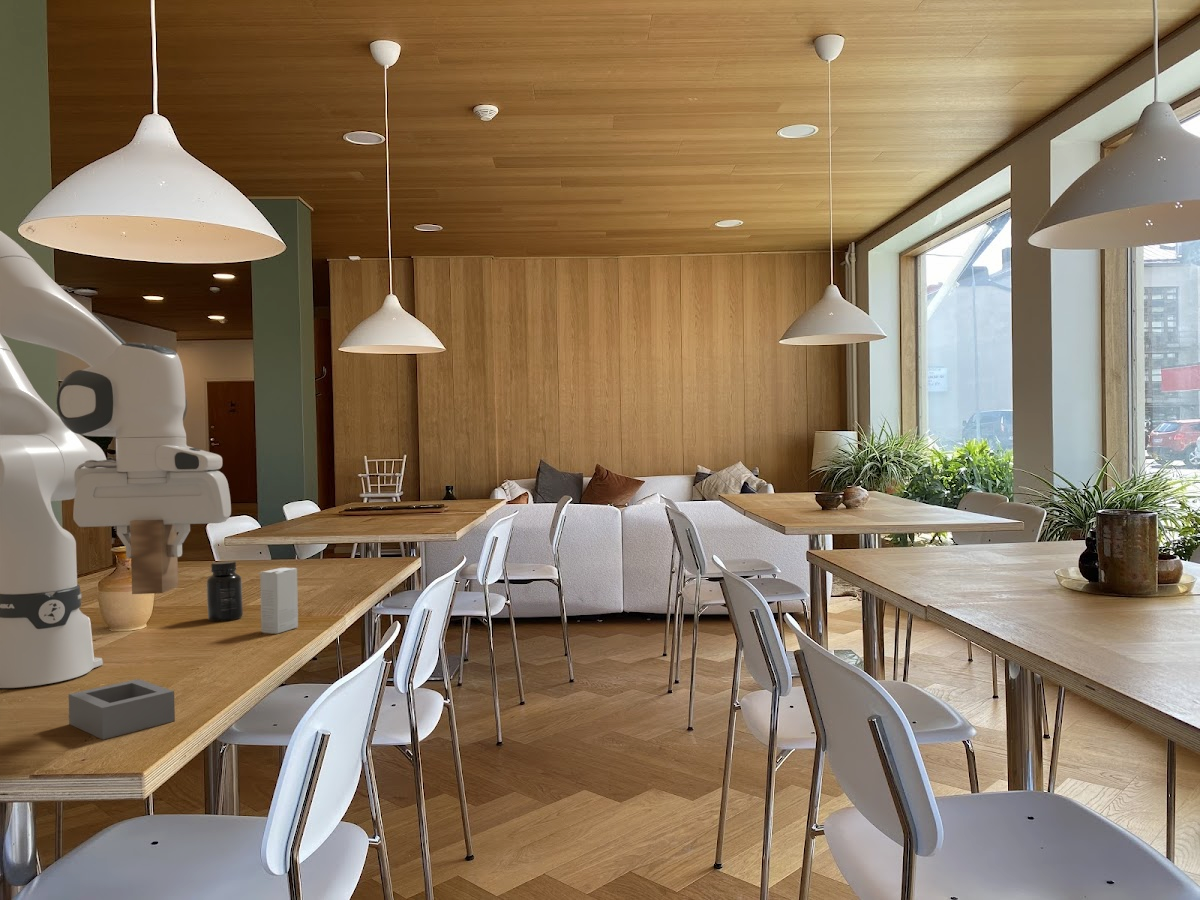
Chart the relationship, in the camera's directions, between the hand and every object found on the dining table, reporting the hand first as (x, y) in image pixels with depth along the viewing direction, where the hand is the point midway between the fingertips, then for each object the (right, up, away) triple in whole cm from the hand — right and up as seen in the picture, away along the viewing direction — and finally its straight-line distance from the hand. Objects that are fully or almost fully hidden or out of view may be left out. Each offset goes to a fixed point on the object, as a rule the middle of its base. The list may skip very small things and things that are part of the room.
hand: (154, 557), depth 123 cm
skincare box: (-1, -21, +51) cm, 55 cm away
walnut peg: (0, -5, 0) cm, 5 cm away
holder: (-1, -21, -6) cm, 22 cm away
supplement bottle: (-17, -21, +64) cm, 69 cm away
